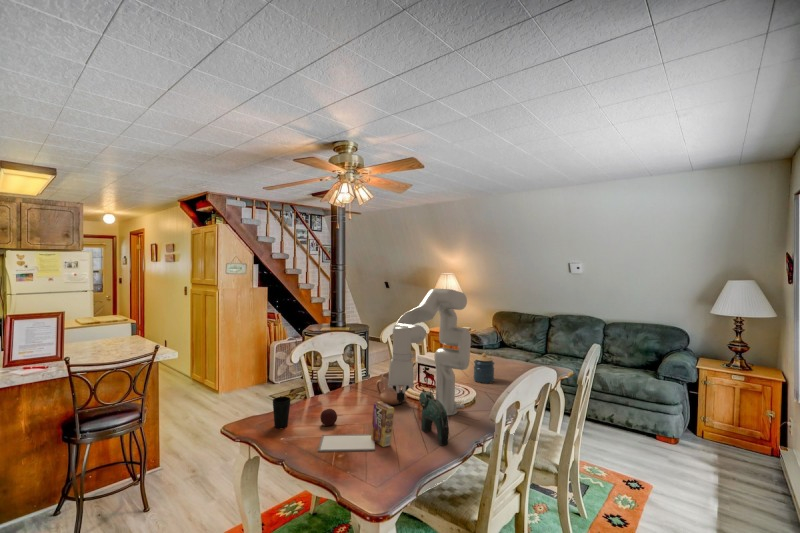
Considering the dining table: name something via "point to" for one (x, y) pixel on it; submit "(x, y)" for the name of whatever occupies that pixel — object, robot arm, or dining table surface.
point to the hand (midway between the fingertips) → (400, 401)
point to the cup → (281, 411)
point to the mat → (346, 443)
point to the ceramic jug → (388, 391)
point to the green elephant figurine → (434, 416)
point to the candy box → (382, 423)
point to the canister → (484, 369)
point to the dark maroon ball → (328, 417)
